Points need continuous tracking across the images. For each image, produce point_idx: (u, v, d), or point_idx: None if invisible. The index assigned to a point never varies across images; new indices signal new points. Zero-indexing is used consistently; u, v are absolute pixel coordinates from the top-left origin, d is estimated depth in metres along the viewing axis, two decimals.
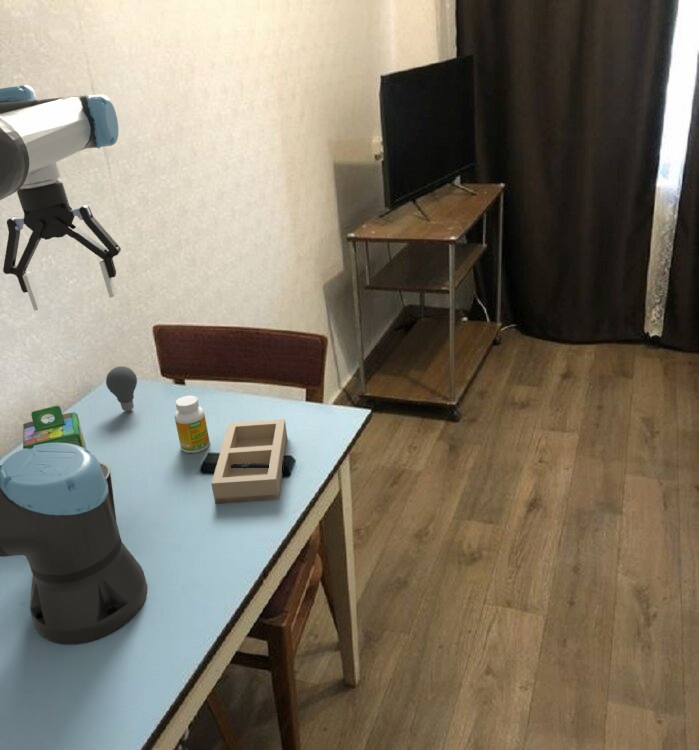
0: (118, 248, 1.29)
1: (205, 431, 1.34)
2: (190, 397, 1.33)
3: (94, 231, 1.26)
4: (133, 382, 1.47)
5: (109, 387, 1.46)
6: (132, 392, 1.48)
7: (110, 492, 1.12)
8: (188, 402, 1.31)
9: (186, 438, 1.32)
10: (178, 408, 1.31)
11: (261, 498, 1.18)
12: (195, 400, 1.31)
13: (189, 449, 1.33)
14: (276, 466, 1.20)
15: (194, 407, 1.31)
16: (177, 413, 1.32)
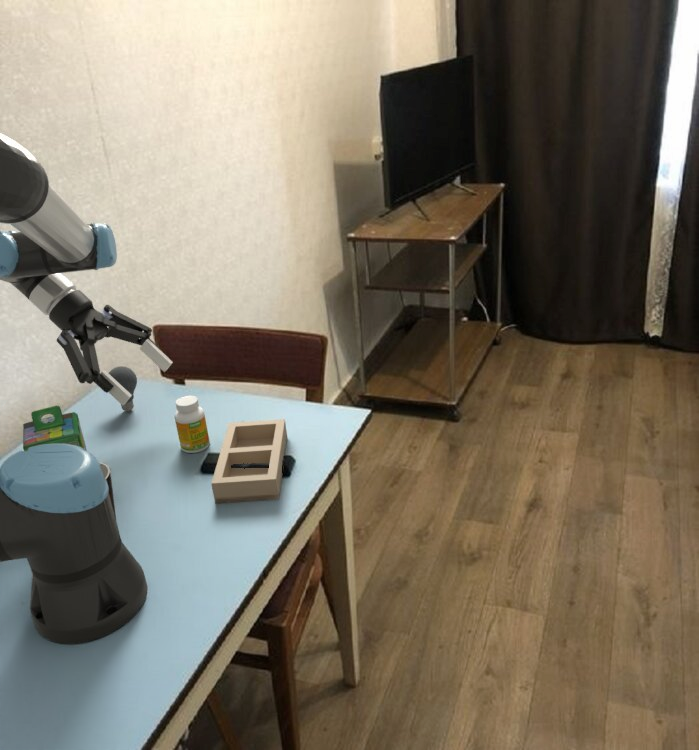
0: None
1: (205, 431, 1.34)
2: (190, 397, 1.33)
3: (126, 319, 1.38)
4: (133, 382, 1.47)
5: None
6: (132, 392, 1.48)
7: (110, 492, 1.12)
8: (188, 402, 1.31)
9: (186, 438, 1.32)
10: (178, 408, 1.31)
11: (261, 498, 1.18)
12: (195, 400, 1.32)
13: (189, 449, 1.33)
14: (276, 466, 1.20)
15: (194, 407, 1.31)
16: (177, 413, 1.32)
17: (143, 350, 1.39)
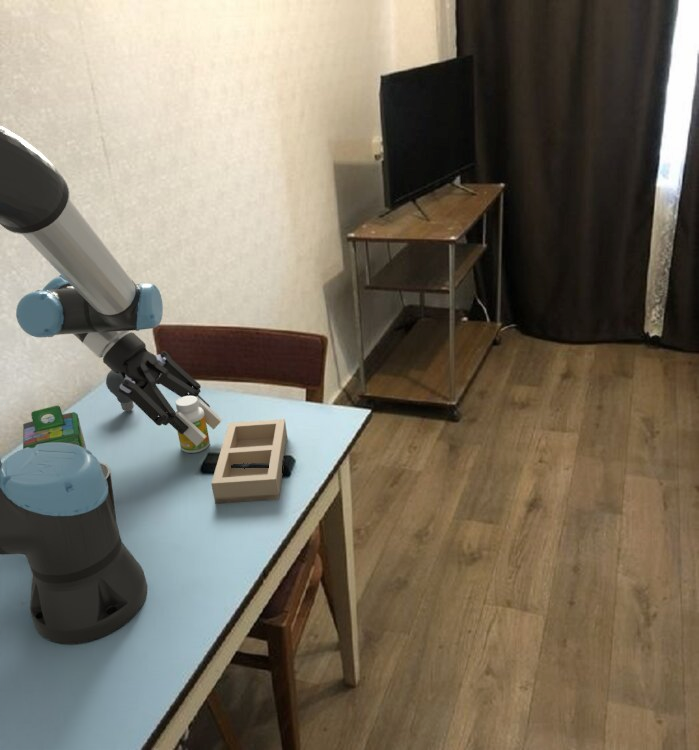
0: None
1: (205, 431, 1.34)
2: (190, 397, 1.32)
3: (177, 369, 1.36)
4: None
5: (109, 387, 1.46)
6: None
7: (110, 492, 1.12)
8: (188, 402, 1.31)
9: (186, 438, 1.32)
10: (178, 408, 1.31)
11: (261, 498, 1.18)
12: (195, 400, 1.31)
13: (189, 449, 1.33)
14: (276, 466, 1.20)
15: (194, 407, 1.31)
16: (177, 413, 1.32)
17: None
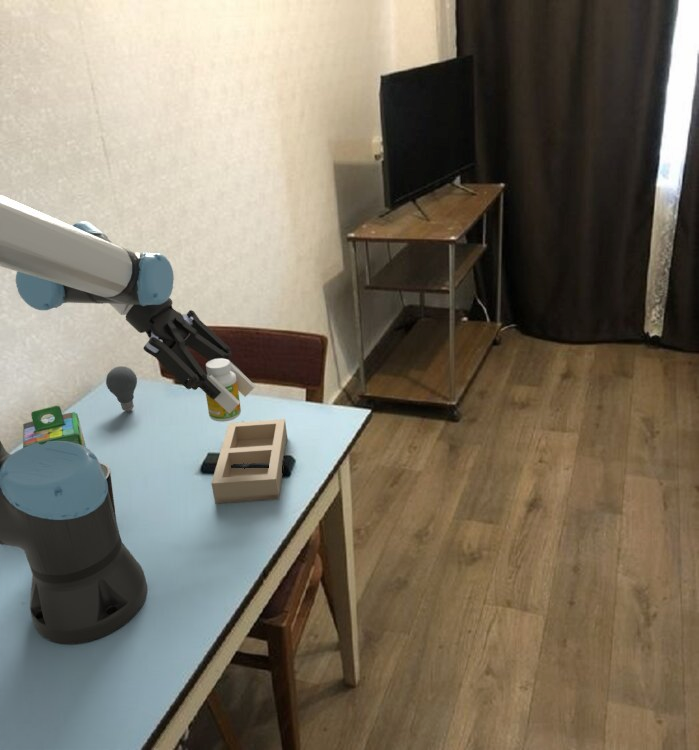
0: None
1: (237, 397, 1.21)
2: (221, 360, 1.20)
3: (206, 330, 1.24)
4: (133, 382, 1.47)
5: (109, 387, 1.46)
6: (132, 392, 1.48)
7: (110, 492, 1.12)
8: (220, 364, 1.19)
9: (217, 404, 1.20)
10: (209, 371, 1.18)
11: (261, 498, 1.18)
12: (227, 362, 1.19)
13: (219, 417, 1.21)
14: (276, 466, 1.20)
15: (227, 370, 1.19)
16: (207, 377, 1.20)
17: None
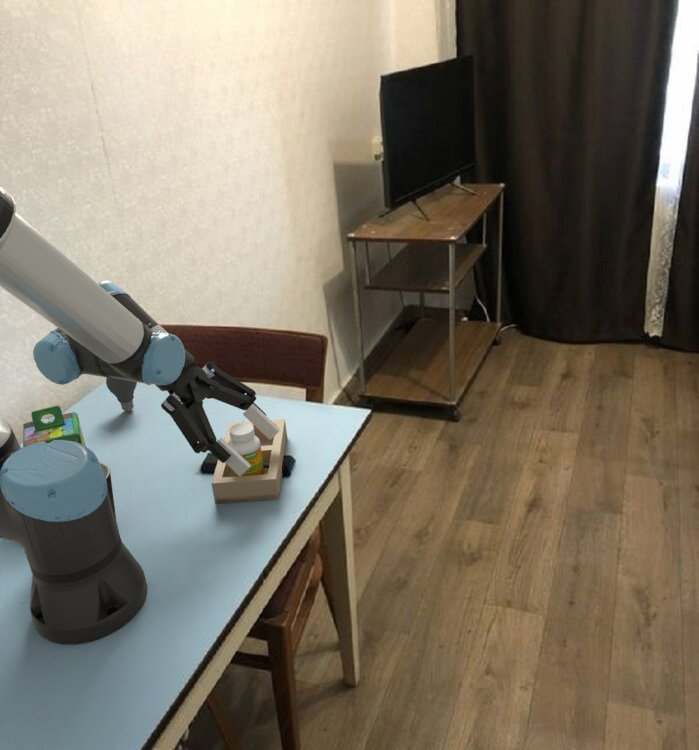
0: None
1: (261, 462, 1.21)
2: (245, 425, 1.20)
3: (229, 379, 1.23)
4: (133, 382, 1.47)
5: (109, 387, 1.46)
6: (132, 392, 1.48)
7: (110, 492, 1.12)
8: (244, 431, 1.18)
9: None
10: (232, 437, 1.18)
11: (261, 498, 1.18)
12: (251, 428, 1.19)
13: None
14: (276, 466, 1.20)
15: (251, 436, 1.18)
16: (231, 442, 1.19)
17: (247, 416, 1.24)
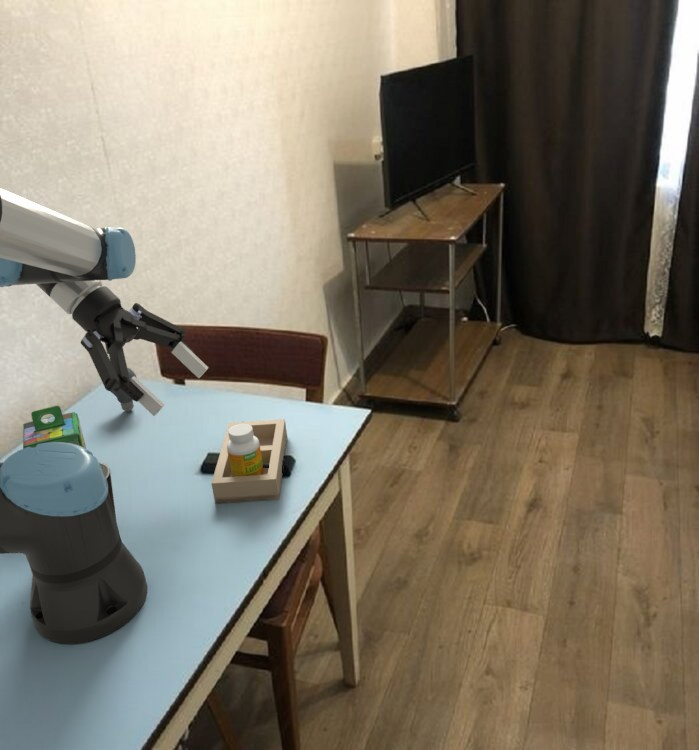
0: None
1: (260, 462, 1.21)
2: (243, 426, 1.19)
3: (157, 319, 1.24)
4: None
5: None
6: None
7: (110, 492, 1.12)
8: (243, 431, 1.18)
9: (240, 471, 1.19)
10: (231, 438, 1.18)
11: (261, 498, 1.18)
12: (250, 429, 1.18)
13: None
14: (276, 466, 1.20)
15: (249, 437, 1.18)
16: (230, 443, 1.19)
17: (175, 354, 1.25)
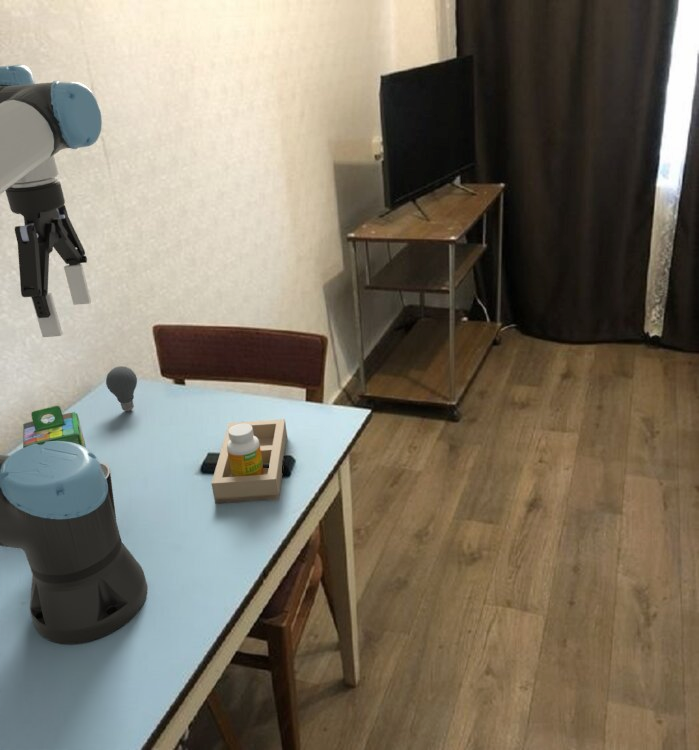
0: None
1: (260, 462, 1.21)
2: (243, 426, 1.19)
3: (72, 231, 1.15)
4: (133, 382, 1.47)
5: (109, 387, 1.46)
6: (132, 392, 1.48)
7: (110, 492, 1.12)
8: (243, 431, 1.18)
9: (240, 471, 1.19)
10: (232, 438, 1.18)
11: (261, 498, 1.18)
12: (250, 429, 1.18)
13: None
14: (276, 466, 1.20)
15: (250, 437, 1.18)
16: (230, 443, 1.19)
17: (67, 271, 1.17)
